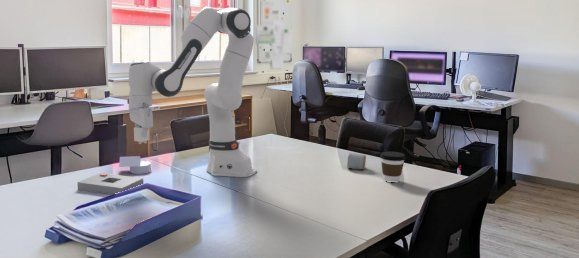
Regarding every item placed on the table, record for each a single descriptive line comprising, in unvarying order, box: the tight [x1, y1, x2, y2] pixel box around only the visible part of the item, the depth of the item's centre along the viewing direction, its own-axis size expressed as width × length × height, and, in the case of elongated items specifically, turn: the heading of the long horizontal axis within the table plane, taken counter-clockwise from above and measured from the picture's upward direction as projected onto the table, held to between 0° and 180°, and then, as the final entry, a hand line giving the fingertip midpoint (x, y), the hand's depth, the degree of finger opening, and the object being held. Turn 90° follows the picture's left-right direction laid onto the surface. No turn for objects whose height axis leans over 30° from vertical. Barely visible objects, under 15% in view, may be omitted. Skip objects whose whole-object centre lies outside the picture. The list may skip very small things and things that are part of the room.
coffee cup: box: [379, 151, 407, 182], centre depth 213 cm, size 11×11×12 cm
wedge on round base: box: [118, 155, 152, 175], centre depth 219 cm, size 9×7×13 cm
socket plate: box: [77, 172, 144, 195], centre depth 195 cm, size 20×14×4 cm
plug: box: [133, 126, 150, 145], centre depth 202 cm, size 4×4×8 cm
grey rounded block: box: [346, 151, 367, 170], centre depth 234 cm, size 11×8×8 cm
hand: (141, 135), depth 202 cm, fingers closed on plug, 6 cm apart
